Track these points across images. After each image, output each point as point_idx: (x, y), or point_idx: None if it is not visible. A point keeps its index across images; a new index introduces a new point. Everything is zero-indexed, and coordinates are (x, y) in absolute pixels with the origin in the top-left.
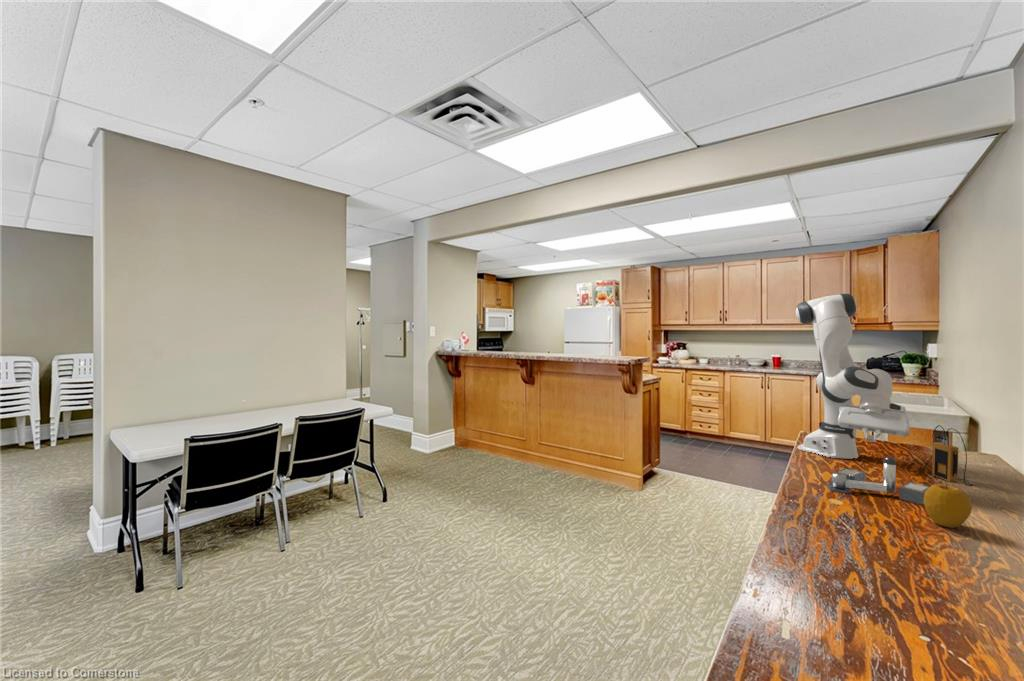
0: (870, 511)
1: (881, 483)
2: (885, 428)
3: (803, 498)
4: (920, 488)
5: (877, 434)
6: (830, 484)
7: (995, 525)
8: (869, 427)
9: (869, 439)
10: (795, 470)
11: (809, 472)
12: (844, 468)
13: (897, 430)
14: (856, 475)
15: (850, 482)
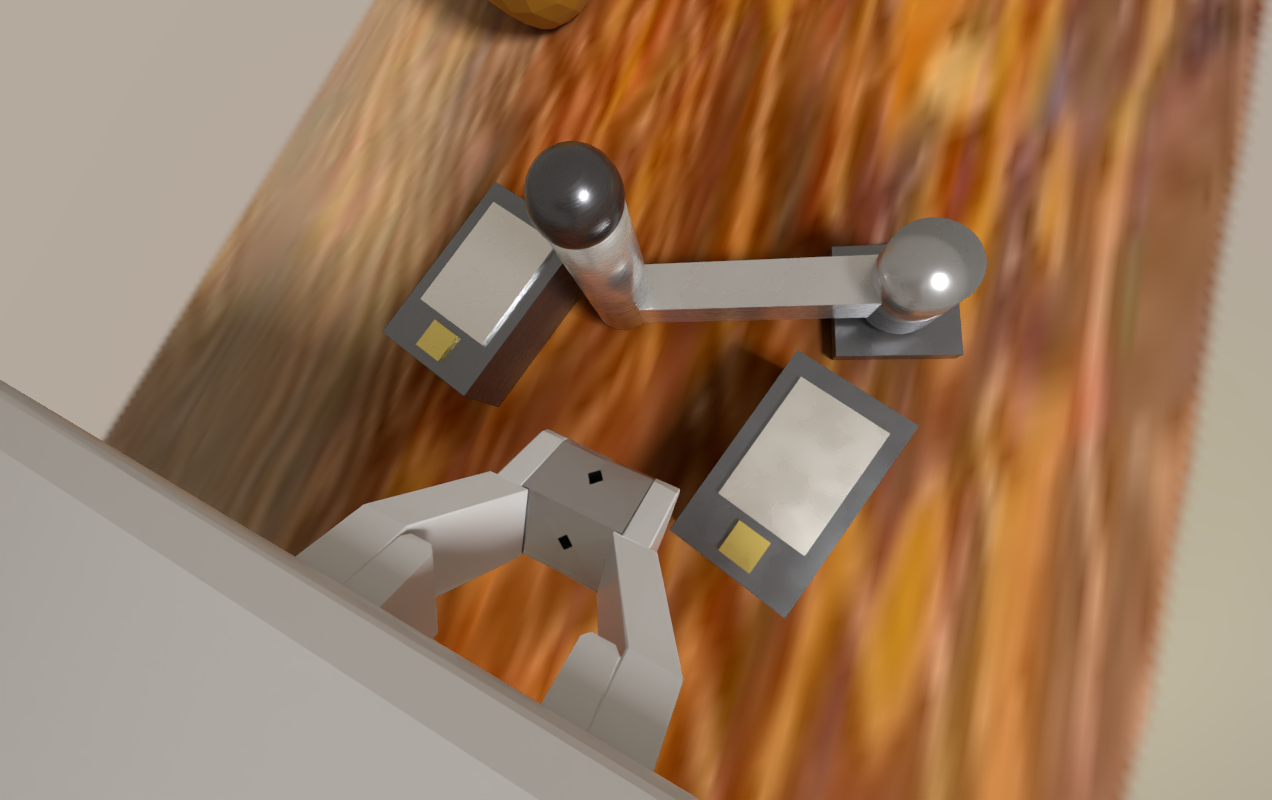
0: (813, 14)
1: (650, 310)
2: (176, 491)
3: (1141, 40)
4: (475, 253)
5: (455, 481)
6: (937, 337)
7: (364, 97)
8: (489, 688)
9: (620, 469)
10: (1136, 688)
11: (1021, 664)
12: (807, 584)
13: (22, 398)
14: (770, 403)
15: (847, 256)
